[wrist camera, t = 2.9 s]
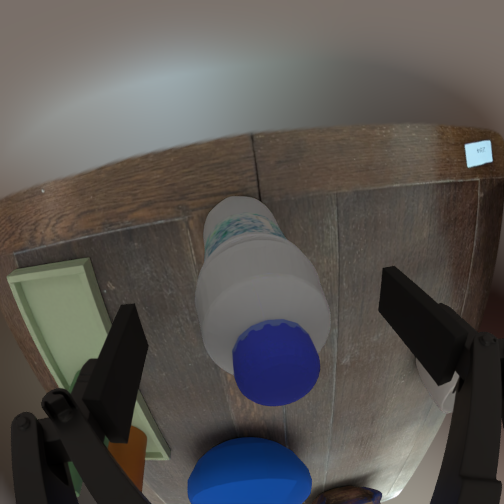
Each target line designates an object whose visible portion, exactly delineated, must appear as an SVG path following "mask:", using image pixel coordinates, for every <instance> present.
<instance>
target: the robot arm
mask: <svg viewBox="0 0 504 504" xmlns="http://www.w3.org/2000/svg"><path fill="white" fill-rule="evenodd" d="M378 311H379V312H380V313H381V315H382V316H383V317H384V318H385V319H386V321H387V322H388V323H389V324H390V326H391V327H392V328H393V329H394V330H395V332H396V333H397V334H398V335H399V337H400V338H401V339H402V340H403V342H404V343H405V344H406V345H407V347H408V348H409V349H410V350H411V352H412V353H413V354H414V355H415V357H416V358H417V359H418V361H419V362H420V363H421V364H422V366H423V367H424V368H425V370H426V371H427V372H428V373H429V375H430V376H431V377H432V379H433V380H434V381H435V383H436V384H437V385H438V386H441V385H443V384H446V383H448V382H450V381H451V380H452V378H453V375H454V373H455V371H456V373H457V374H458V375H459V378H458V380H457V383H456V385H455V387H454V390H453V392H452V393H453V394H454V393H455V391H456V394H455V401H454V407H453V414H452V419H451V425H450V430H449V436H448V440H447V444H446V450H445V453H444V457H443V461H442V465H441V469H440V473H439V476H438V480H437V483H436V486H435V490H434V493H433V496H432V499H431V502H430V504H499V502H500V496H501V491H502V483H501V481H498V480H497V479H496V473H497V466H498V457H499V449H500V435H501V418H502V422H503V428H504V339H497V338H496V337H495V336H494V335H492V334H490V333H488V332H479V333H478V332H477V331H476V330H475V329H474V328H472V327H471V326H470V325H469V324H468V323H467V322H466V321H465V320H464V319H463V318H462V319H461V317H460V316H459V315H458V314H456V312H455V311H454V310H453V309H452V308H450V307H449V306H447V305H445V304H443V303H439V304H438V303H437V302H435V301H434V300H433V299H432V298H431V297H430V296H429V295H428V294H426V293H425V292H424V291H423V290H422V289H421V288H420V287H418V286H417V285H416V284H415V283H414V282H413V281H412V280H410V279H409V278H408V277H407V276H406V275H405V274H403V273H402V272H401V271H400V270H399V269H397V268H396V267H395V266H391V267H386V268H383V271H382V282H381V292H380V301H379V309H378ZM147 350H148V343H147V340H146V337H145V334H144V331H143V328H142V325H141V322H140V319H139V316H138V313H137V309H136V306H135V303H134V304H125V305H121V306H120V308H119V311H118V313H117V315H116V317H115V319H114V322H113V324H112V326H111V328H110V331H109V333H108V335H107V337H106V340H105V342H104V344H103V347H102V349H101V352H100V354H99V356H98V358H91V359H89V360H88V361H87V362H86V363H85V364H84V365H83V366H82V368H81V371H80V373H79V376H78V377H77V380H76V382H75V384H74V387H73V389H72V392H71V394H70V393H69V392H68V391H67V390H66V389H63V388H57V389H54V390H51V391H50V392H48V393H47V394H46V395H45V396H44V398H43V399H42V402H41V405H42V408H43V410H44V411H45V413H46V414H47V415H48V417H49V418H44V419H38V420H37V418H36V417H35V416H34V415H33V414H32V413H29V412H23V413H21V414H19V415H17V416H16V417H15V418H14V420H13V421H12V425H11V452H12V469H13V480H14V490H15V498H16V504H79V503H78V500H77V496H76V493H75V489H74V485H73V481H72V477H71V473H70V469H69V465H68V462H72V463H73V464H74V466H75V468H76V470H77V472H78V473H79V475H80V477H81V478H82V480H83V482H84V483H85V485H86V487H87V488H88V490H89V492H90V493H91V495H92V496H93V498H94V499H95V501H96V502H97V504H151V503H150V502H149V500H148V499H147V498H146V497H145V496H144V495H143V494H142V492H141V491H140V490H139V489H138V488H137V486H136V485H135V484H134V483H133V481H132V480H131V479H130V478H129V476H128V475H127V474H126V473H125V471H124V470H123V469H122V467H121V466H120V465H119V463H118V462H117V461H116V459H115V458H114V457H113V455H112V454H111V453H110V451H109V450H108V448H107V447H106V445H105V444H104V443H103V442H104V438H105V435H106V437H107V438H108V440H109V441H110V442H111V443H124V444H128V439H129V434H130V428H131V423H132V418H133V413H134V408H135V403H136V398H137V394H138V389H139V385H140V380H141V376H142V371H143V367H144V363H145V359H146V354H147Z"/></svg>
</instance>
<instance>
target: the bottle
mask: <svg viewBox="0 0 504 504" xmlns="http://www.w3.org/2000/svg"><path fill="white" fill-rule="evenodd" d="M203 238H204V247H205V258H204V264H203V266H202V268H201V271H200V274H199V276H198V282H197V287H196V291H195V307H196V311H197V314H198V319H199V323H200V329H201V334H202V340H203V343H204V347H205V349H206V351H207V352H208V354H209V356H210V358H211V359H212V360H213V361H214V362H215V363H216V364H217V365H218V366H219V367H220V368H222V369H223V370H225V371H226V372H228V373H230V374H232V375H234V377H235V380H236V383H237V386H238V387H239V389H240V391H241V392H242V394H243V395H245V396H246V397H247V398H248V399H250V400H252V401H253V402H255V403H258V404H261V405H265V406H281V405H286V404H289V403H292V402H295V401H297V400H299V399H300V398H302V397H303V396H305V395H306V394H307V393H308V392H309V391H310V390H311V389H312V388H313V386H314V385H315V383H316V381H317V379H318V377H319V372H320V360H319V356H318V353H319V352H320V350H321V349H322V347H323V346H324V344H325V342H326V340H327V338H328V335H329V331H330V326H331V313H330V309H329V306H328V302H327V300H326V297H325V295H324V292H323V289H322V287H321V284H320V280H319V276H318V274H317V272H316V270H315V267H314V266H313V264H312V263H311V261H310V260H309V259H308V258H307V257H306V256H305V255H304V254H303V253H302V251H301V250H300V249H299V248H298V247H296V246H295V245H294V244H293V243H292V242H290V241H288V240H287V239H286V238H285V236H284V235H283V233H282V232H281V230H280V229H279V226H278V224H277V221H276V219H275V218H274V216H273V214H272V213H271V211H270V210H269V209H268V208H267V207H266V206H265V205H264V204H263V203H262V202H260V201H259V200H257V199H255V198H252V197H245V196H231V197H228V198H225V199H224V200H223V201H221V202H220V203H219V204H217V205H216V206H215V207H214V208H213V209H212V210H211V211H210V212H209V214H208V216H207V218H206V221H205V225H204V233H203Z"/></svg>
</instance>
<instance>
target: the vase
mask: <svg viewBox="0 0 504 504" xmlns="http://www.w3.org/2000/svg"><path fill="white" fill-rule="evenodd" d="M311 487H312V479H311V476H310V473H309V470H308V468H307V467H306V466H305V464H304V463H303V462H302V461H301V460H300V459H299V458H298V457H297V456H296V455H295V453H294V452H293V451H291V450H290V449H288V448H286V447H284V446H283V445H281V444H279V443H277V442H275V441H271V440H268V439H264V438H258V437H241V438H235V439H231V440H228V441H225V442H223V443H221V444H219V445H217V446H215V447H213V448H212V449H210V450H209V451H208V452H207V453H206V454H204V455H203V456H202V457H201V458H200V459H199V460H198V462H197V464H196V466H195V467H194V469H193V471H192V473H191V475H190V477H189V479H188V498H189V500H190V502H191V504H302V503H303V502H304V501H305V500H306V499H307V498H308V496H309V495H310V493H311Z"/></svg>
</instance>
